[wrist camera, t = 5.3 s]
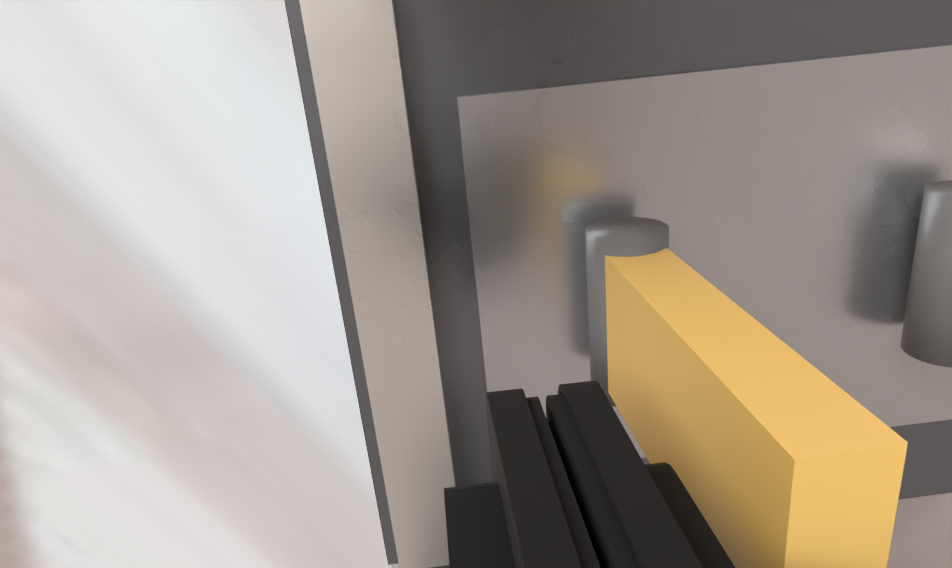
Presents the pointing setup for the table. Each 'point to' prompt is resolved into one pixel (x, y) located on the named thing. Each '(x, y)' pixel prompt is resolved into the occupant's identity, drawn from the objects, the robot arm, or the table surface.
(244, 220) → the table surface
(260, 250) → the table surface
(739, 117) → the breaker panel
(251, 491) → the table surface
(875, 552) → the paddle amber
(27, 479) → the table surface
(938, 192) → the paddle white
